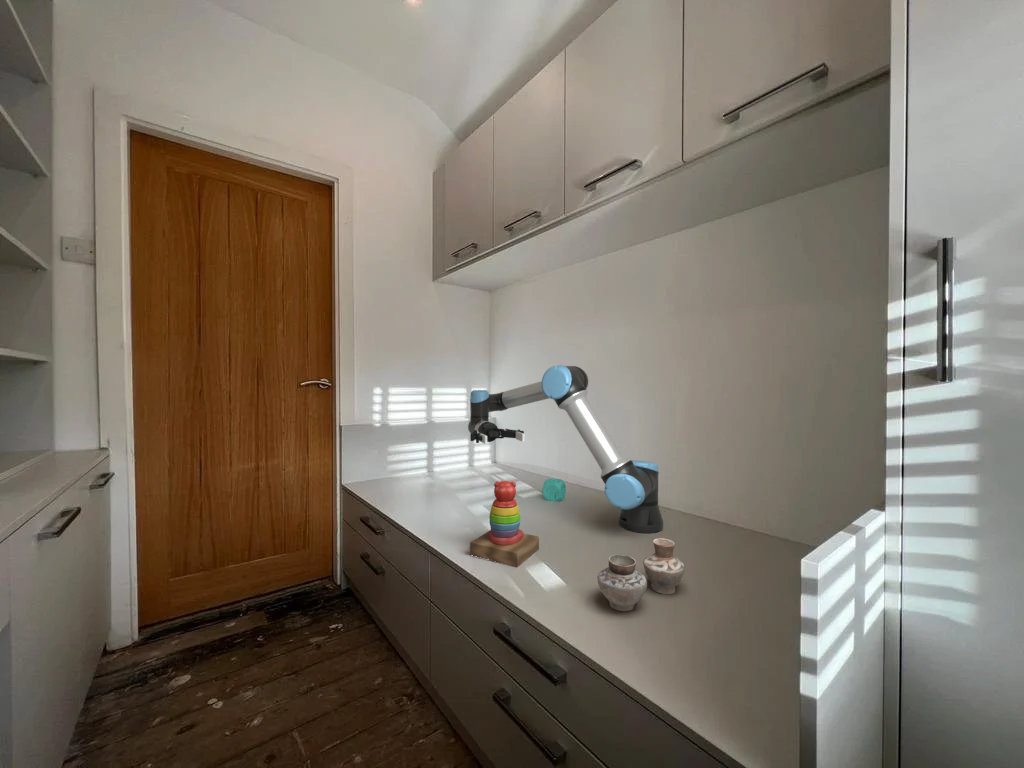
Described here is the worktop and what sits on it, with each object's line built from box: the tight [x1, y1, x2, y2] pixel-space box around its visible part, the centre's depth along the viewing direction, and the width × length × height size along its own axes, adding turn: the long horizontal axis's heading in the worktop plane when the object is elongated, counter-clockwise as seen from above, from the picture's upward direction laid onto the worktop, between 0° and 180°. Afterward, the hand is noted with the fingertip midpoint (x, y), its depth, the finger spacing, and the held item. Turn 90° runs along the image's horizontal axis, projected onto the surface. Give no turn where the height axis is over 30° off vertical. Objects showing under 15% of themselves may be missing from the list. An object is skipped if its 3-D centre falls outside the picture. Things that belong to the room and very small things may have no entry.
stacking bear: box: [488, 480, 525, 545], centre depth 128 cm, size 11×10×18 cm
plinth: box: [469, 530, 540, 568], centre depth 128 cm, size 16×14×4 cm
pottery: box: [596, 537, 686, 612], centre depth 103 cm, size 11×25×12 cm, turn 121°
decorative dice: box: [542, 478, 567, 502], centre depth 183 cm, size 8×8×8 cm
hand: (505, 438), depth 145 cm, fingers open, 13 cm apart
